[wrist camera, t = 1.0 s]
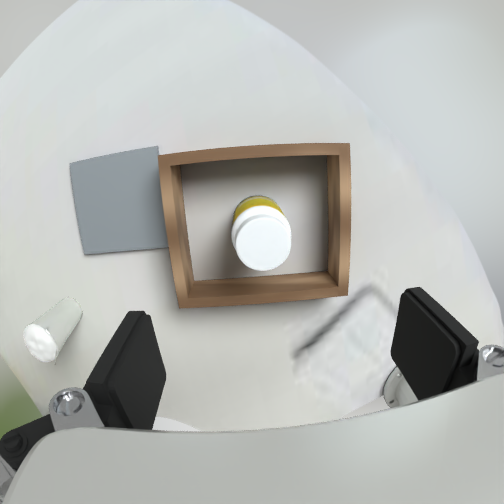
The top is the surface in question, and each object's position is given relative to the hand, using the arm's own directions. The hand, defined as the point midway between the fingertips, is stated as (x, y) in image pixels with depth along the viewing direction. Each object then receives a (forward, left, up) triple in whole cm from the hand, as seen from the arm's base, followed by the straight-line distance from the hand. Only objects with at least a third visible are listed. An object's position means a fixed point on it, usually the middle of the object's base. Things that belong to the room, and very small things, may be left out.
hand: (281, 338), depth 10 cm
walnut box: (0, 0, -20) cm, 20 cm away
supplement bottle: (0, 0, -20) cm, 20 cm away
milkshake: (-9, +23, -20) cm, 32 cm away
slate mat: (+3, +14, -20) cm, 24 cm away
